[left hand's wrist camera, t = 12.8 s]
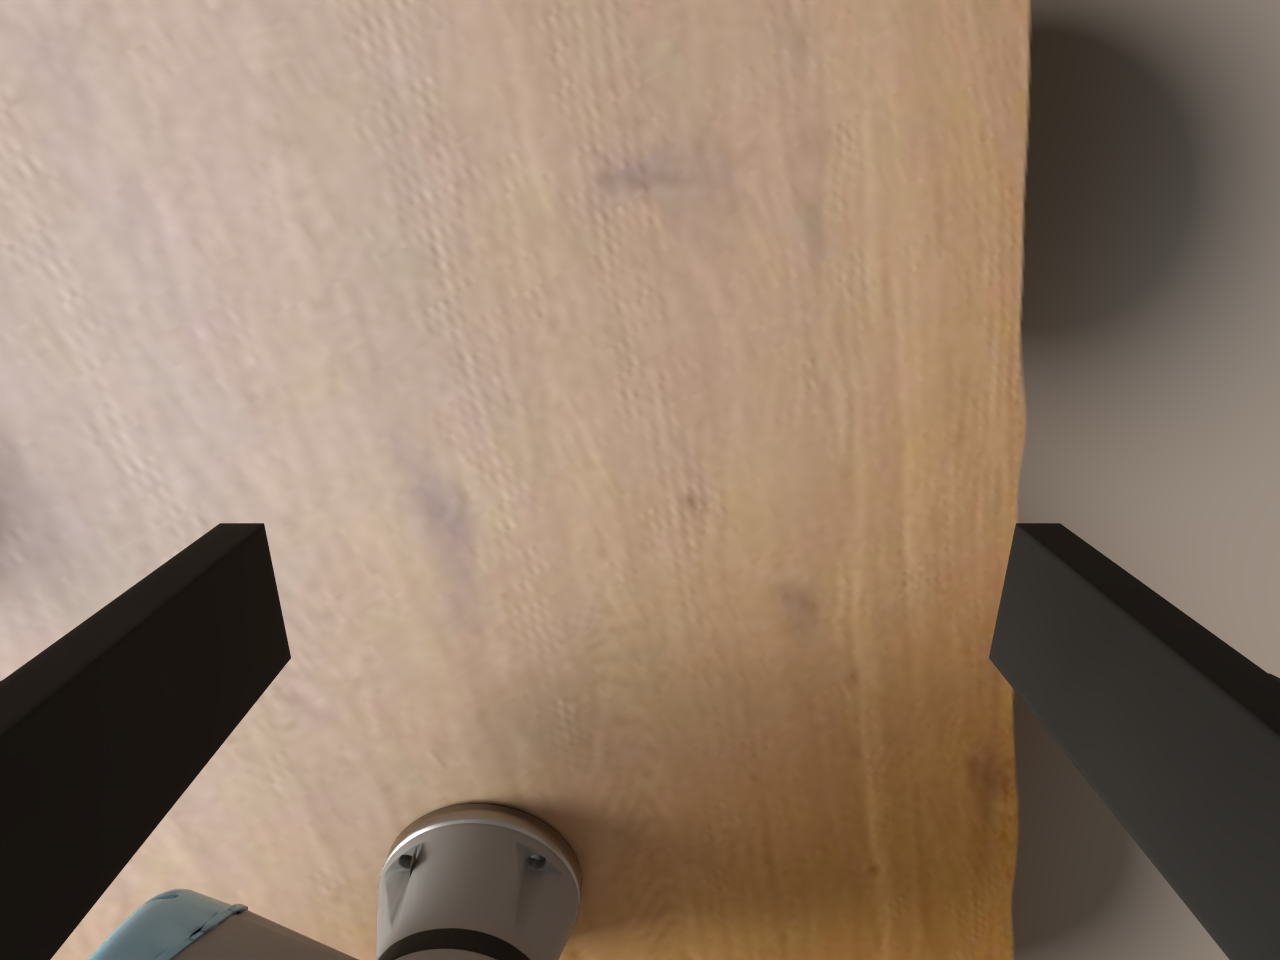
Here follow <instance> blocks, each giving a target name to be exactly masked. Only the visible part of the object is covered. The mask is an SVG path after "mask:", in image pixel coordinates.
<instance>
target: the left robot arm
mask: <svg viewBox="0 0 1280 960" xmlns="http://www.w3.org/2000/svg"><path fill="white" fill-rule="evenodd" d="M290 659H291V656H290V651H289V646H288V641H287V636H286V631H285V626H284V621H283V616H282V611H281V606H280V601H279V596H278V591H277V586H276V581H275V576H274V571H273V566H272V561H271V556H270V551H269V546H268V541H267V536H266V531H265V526H264V523H220V524H219V525H217V526H216V527H214V528H213V529H212V530H210V531H209V532H208V533H206V534H205V535H203V536H202V537H201V538H199V539H198V540H196V541H195V542H194V543H192V544H191V545H190V546H188V547H187V548H185V549H184V550H183V551H181V552H180V553H178V554H177V555H176V556H174V557H173V558H171V559H170V560H169V561H167V562H166V563H165V564H163V565H162V566H160V567H159V568H158V569H156V570H155V571H153V572H152V573H151V574H149V575H148V576H147V577H145V578H144V579H142V580H141V581H140V582H138V583H137V584H135V585H134V586H133V587H131V588H130V589H129V590H127V591H126V592H124V593H123V594H122V595H120V596H119V597H117V598H116V599H115V600H113V601H112V602H111V603H109V604H108V605H106V606H105V607H104V608H102V609H101V610H99V611H98V612H97V613H95V614H94V615H93V616H91V617H90V618H88V619H87V620H86V621H84V622H83V623H81V624H80V625H79V626H77V627H76V628H74V629H73V630H72V631H70V632H69V633H68V634H66V635H65V636H63V637H62V638H61V639H59V640H58V641H56V642H55V643H54V644H52V645H51V646H50V647H48V648H47V649H45V650H44V651H43V652H41V653H40V654H38V655H37V656H36V657H34V658H33V659H32V660H30V661H29V662H27V663H26V664H25V665H23V666H22V667H20V668H19V669H18V670H16V671H15V672H14V673H12V674H11V675H9V676H8V677H7V678H5V679H4V680H2V681H0V960H50V959H51V958H52V957H53V956H54V954H55V953H56V952H57V951H58V949H59V948H60V947H61V946H62V944H63V943H64V942H65V941H66V939H67V938H68V937H69V936H70V934H71V933H72V932H73V931H74V929H75V928H76V927H77V926H78V924H79V923H80V922H81V921H82V919H83V918H84V917H85V916H86V914H87V913H88V912H89V910H90V909H91V908H92V907H93V905H94V904H95V903H96V902H97V900H98V899H99V898H100V897H101V895H102V894H103V893H104V892H105V890H106V889H107V888H108V887H109V885H110V884H111V883H112V882H113V880H114V879H115V878H116V877H117V875H118V874H119V873H120V872H121V870H122V869H123V868H124V867H125V865H126V864H127V863H128V862H129V860H130V859H131V858H132V857H133V855H134V854H135V853H136V852H137V850H138V849H139V848H140V847H141V845H142V844H143V843H144V842H145V840H146V839H147V838H148V837H149V835H150V834H151V833H152V832H153V830H154V829H155V828H156V827H157V825H158V824H159V823H160V821H161V820H162V819H163V818H164V816H165V815H166V814H167V813H168V811H169V810H170V809H171V808H172V806H173V805H174V804H175V803H176V801H177V800H178V799H179V798H180V796H181V795H182V794H183V793H184V791H185V790H186V789H187V788H188V786H189V785H190V784H191V783H192V781H193V780H194V779H195V778H196V776H197V775H198V774H199V773H200V771H201V770H202V769H203V768H204V766H205V765H206V764H207V763H208V761H209V760H210V759H211V758H212V756H213V755H214V754H215V753H216V751H217V750H218V749H219V748H220V746H221V745H222V744H223V743H224V741H225V740H226V739H227V737H228V736H229V735H230V734H231V732H232V731H233V730H234V729H235V727H236V726H237V725H238V724H239V722H240V721H241V720H242V719H243V717H244V716H245V715H246V714H247V712H248V711H249V710H250V709H251V707H252V706H253V705H254V704H255V702H256V701H257V700H258V699H259V697H260V696H261V695H262V694H263V692H264V691H265V690H266V689H267V687H268V686H269V685H270V684H271V682H272V681H273V680H274V679H275V677H276V676H277V675H278V674H279V672H280V671H281V670H282V669H283V667H284V666H285V665H286V664H287V662H288V661H289V660H290ZM989 659H990V660H991V661H992V662H993V664H994V665H995V666H996V667H997V669H998V670H999V671H1000V672H1001V674H1002V675H1003V676H1004V677H1005V679H1006V680H1007V681H1008V682H1009V684H1010V685H1011V686H1012V687H1013V689H1014V690H1015V691H1016V692H1017V694H1018V695H1019V696H1020V697H1021V699H1022V700H1023V701H1024V702H1025V704H1026V705H1027V706H1028V707H1029V709H1030V710H1031V711H1032V712H1033V714H1034V715H1035V716H1036V717H1037V719H1038V720H1039V721H1040V722H1041V724H1042V725H1043V726H1044V727H1045V729H1046V730H1047V731H1048V732H1049V734H1050V735H1051V736H1052V737H1053V739H1054V740H1055V741H1056V743H1057V744H1058V745H1059V746H1060V748H1061V749H1062V750H1063V751H1064V753H1065V754H1066V755H1067V756H1068V758H1069V759H1070V760H1071V761H1072V763H1073V764H1074V765H1075V766H1076V768H1077V769H1078V770H1079V771H1080V773H1081V774H1082V775H1083V776H1084V778H1085V779H1086V780H1087V781H1088V783H1089V784H1090V785H1091V786H1092V788H1093V789H1094V790H1095V791H1096V793H1097V794H1098V795H1099V796H1100V798H1101V799H1102V800H1103V801H1104V803H1105V804H1106V805H1107V806H1108V808H1109V809H1110V810H1111V811H1112V813H1113V814H1114V815H1115V816H1116V818H1117V819H1118V820H1119V821H1120V823H1121V824H1122V825H1123V826H1124V828H1125V829H1126V830H1127V832H1128V833H1129V834H1130V835H1131V837H1132V838H1133V839H1134V840H1135V842H1136V843H1137V844H1138V845H1139V847H1140V848H1141V849H1142V850H1143V852H1144V853H1145V854H1146V855H1147V857H1148V858H1149V859H1150V860H1151V862H1152V863H1153V864H1154V865H1155V867H1156V868H1157V869H1158V870H1159V872H1160V873H1161V874H1162V875H1163V877H1164V878H1165V879H1166V880H1167V882H1168V883H1169V884H1170V885H1171V887H1172V888H1173V889H1174V890H1175V892H1176V893H1177V894H1178V895H1179V897H1180V898H1181V899H1182V900H1183V902H1184V903H1185V904H1186V905H1187V907H1188V908H1189V909H1190V910H1191V912H1192V913H1193V914H1194V915H1195V917H1196V918H1197V919H1198V921H1199V922H1200V923H1201V924H1202V926H1203V927H1204V928H1205V929H1206V931H1207V932H1208V933H1209V934H1210V936H1211V937H1212V938H1213V939H1214V941H1215V942H1216V943H1217V944H1218V946H1219V947H1220V948H1221V949H1222V951H1223V952H1224V953H1225V954H1226V956H1227V957H1228V958H1229V959H1230V960H1280V678H1278V677H1276V676H1274V675H1272V674H1268V673H1266V672H1265V671H1264V670H1262V669H1261V668H1260V667H1258V666H1257V665H1255V664H1254V663H1253V662H1251V661H1250V660H1248V659H1247V658H1246V657H1244V656H1243V655H1242V654H1240V653H1239V652H1237V651H1236V650H1235V649H1233V648H1232V647H1230V646H1229V645H1228V644H1226V643H1225V642H1224V641H1222V640H1221V639H1219V638H1218V637H1217V636H1215V635H1214V634H1212V633H1211V632H1210V631H1208V630H1207V629H1206V628H1204V627H1203V626H1201V625H1200V624H1199V623H1197V622H1196V621H1194V620H1193V619H1192V618H1190V617H1189V616H1187V615H1186V614H1185V613H1183V612H1182V611H1181V610H1179V609H1178V608H1176V607H1175V606H1174V605H1172V604H1171V603H1169V602H1168V601H1167V600H1165V599H1164V598H1163V597H1161V596H1160V595H1158V594H1157V593H1155V592H1154V591H1153V590H1151V589H1150V588H1149V587H1147V586H1146V585H1145V584H1143V583H1142V582H1140V581H1139V580H1138V579H1136V578H1135V577H1133V576H1132V575H1131V574H1129V573H1128V572H1126V571H1125V570H1124V569H1122V568H1121V567H1120V566H1118V565H1117V564H1115V563H1114V562H1113V561H1111V560H1110V559H1109V558H1107V557H1106V556H1104V555H1103V554H1102V553H1100V552H1099V551H1097V550H1096V549H1095V548H1093V547H1092V546H1090V545H1089V544H1088V543H1086V542H1085V541H1084V540H1082V539H1081V538H1079V537H1078V536H1077V535H1075V534H1074V533H1072V532H1071V531H1070V530H1068V529H1067V528H1066V527H1064V526H1063V525H1061V524H1059V523H1016V526H1015V531H1014V536H1013V541H1012V546H1011V551H1010V556H1009V561H1008V566H1007V571H1006V576H1005V581H1004V586H1003V591H1002V596H1001V601H1000V606H999V611H998V616H997V621H996V626H995V631H994V636H993V641H992V646H991V651H990V656H989ZM580 896H581V871H580V867H579V864H578V861H577V859H576V857H575V855H574V853H573V851H572V849H571V848H570V846H569V845H568V844H567V843H566V841H565V840H564V839H563V838H562V837H561V836H560V835H559V834H558V833H557V832H556V831H555V830H553V829H552V828H551V827H550V826H548V825H547V824H545V823H544V822H542V821H540V820H538V819H537V818H535V817H533V816H531V815H528V814H526V813H524V812H521V811H518V810H515V809H511V808H508V807H503V806H498V805H490V804H463V805H455V806H450V807H446V808H442V809H439V810H436V811H433V812H431V813H428V814H426V815H424V816H422V817H421V818H419V819H417V820H416V821H414V822H413V823H412V824H410V825H409V826H408V827H407V828H406V829H405V830H403V831H402V832H401V834H400V835H399V836H398V837H397V839H396V840H395V842H394V843H393V845H392V847H391V849H390V852H389V854H388V857H387V859H386V862H385V864H384V867H383V869H382V872H381V875H380V879H379V885H378V914H377V946H376V960H559V958H560V956H561V953H562V951H563V949H564V947H565V945H566V942H567V940H568V938H569V936H570V933H571V931H572V929H573V927H574V925H575V922H576V920H577V917H578V913H579V907H580ZM88 960H358V959H356V958H353V957H351V956H349V955H346V954H344V953H342V952H340V951H337V950H335V949H333V948H331V947H329V946H326V945H324V944H322V943H320V942H317V941H315V940H313V939H311V938H308V937H306V936H304V935H302V934H299V933H297V932H295V931H293V930H290V929H288V928H286V927H284V926H281V925H279V924H277V923H275V922H273V921H270V920H268V919H266V918H264V917H261V916H259V915H257V914H255V913H252V912H250V911H248V907H247V906H245V905H242V904H235V905H230V904H227V903H224V902H222V901H219V900H216V899H213V898H211V897H208V896H205V895H203V894H200V893H197V892H194V891H191V890H186V889H175V890H170V891H167V892H164V893H162V894H159V895H157V896H155V897H154V898H152V899H150V900H149V901H147V902H146V903H145V904H143V905H142V906H141V907H140V908H138V909H137V910H136V911H135V912H134V913H133V914H131V915H130V916H129V917H128V918H127V919H126V920H125V921H124V922H123V923H122V924H121V925H120V926H119V927H118V928H117V929H116V930H115V931H114V932H113V933H112V934H111V935H110V936H109V937H108V938H107V939H106V940H105V941H104V942H103V944H102V945H101V946H100V947H99V948H98V949H97V950H96V951H95V952H94V953H93V954H92V955H91V956H90V958H89V959H88Z"/></svg>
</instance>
